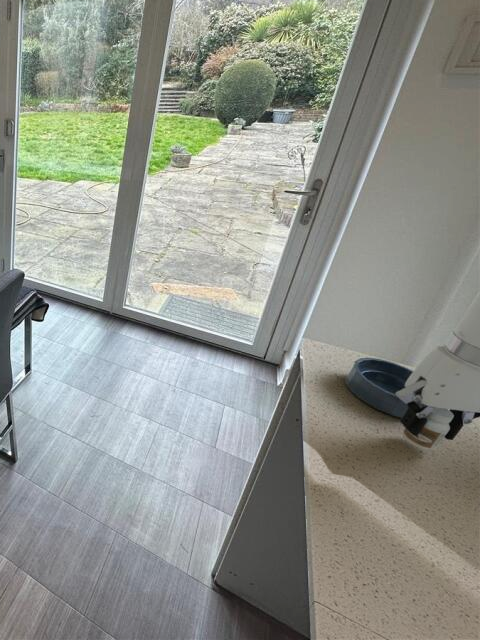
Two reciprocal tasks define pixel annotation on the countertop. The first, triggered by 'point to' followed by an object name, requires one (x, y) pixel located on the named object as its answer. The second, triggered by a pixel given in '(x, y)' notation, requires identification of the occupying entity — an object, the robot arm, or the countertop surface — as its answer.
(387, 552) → the countertop surface
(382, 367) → the bowl
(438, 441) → the pill bottle
